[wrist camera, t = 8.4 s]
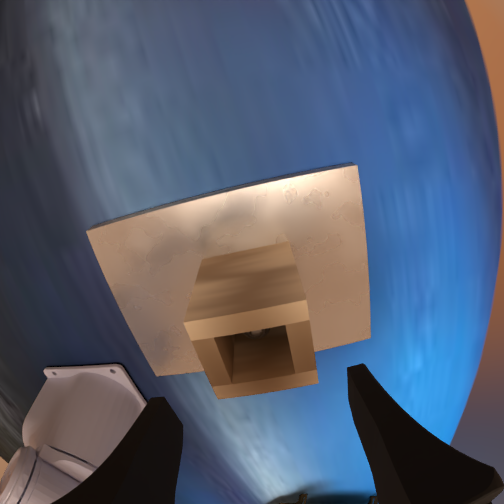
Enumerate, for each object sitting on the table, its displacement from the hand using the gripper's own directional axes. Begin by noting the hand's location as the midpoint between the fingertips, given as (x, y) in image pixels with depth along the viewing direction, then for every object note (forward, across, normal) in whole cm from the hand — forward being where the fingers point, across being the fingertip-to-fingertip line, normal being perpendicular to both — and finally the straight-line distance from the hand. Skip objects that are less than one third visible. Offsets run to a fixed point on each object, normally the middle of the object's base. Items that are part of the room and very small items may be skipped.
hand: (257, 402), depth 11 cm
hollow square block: (+8, 0, 0) cm, 8 cm away
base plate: (+9, +1, 0) cm, 9 cm away
